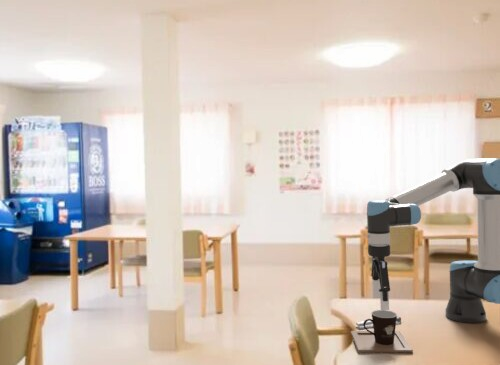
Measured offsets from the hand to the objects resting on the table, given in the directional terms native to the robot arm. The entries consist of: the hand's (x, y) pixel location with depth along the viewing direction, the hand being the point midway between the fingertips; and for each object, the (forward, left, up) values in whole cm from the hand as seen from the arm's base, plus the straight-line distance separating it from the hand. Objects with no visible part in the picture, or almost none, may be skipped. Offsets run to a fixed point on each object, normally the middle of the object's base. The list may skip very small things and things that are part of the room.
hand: (380, 303), depth 170 cm
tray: (0, 0, -14) cm, 14 cm away
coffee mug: (0, 0, -14) cm, 14 cm away
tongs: (-3, -19, -14) cm, 24 cm away
